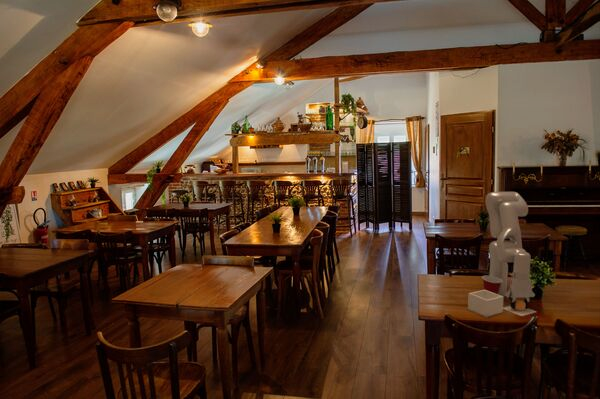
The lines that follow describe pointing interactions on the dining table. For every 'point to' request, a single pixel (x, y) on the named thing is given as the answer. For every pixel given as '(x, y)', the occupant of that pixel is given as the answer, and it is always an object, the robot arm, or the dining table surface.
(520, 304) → the ball
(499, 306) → the white open box
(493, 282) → the plastic cup
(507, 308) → the mat
